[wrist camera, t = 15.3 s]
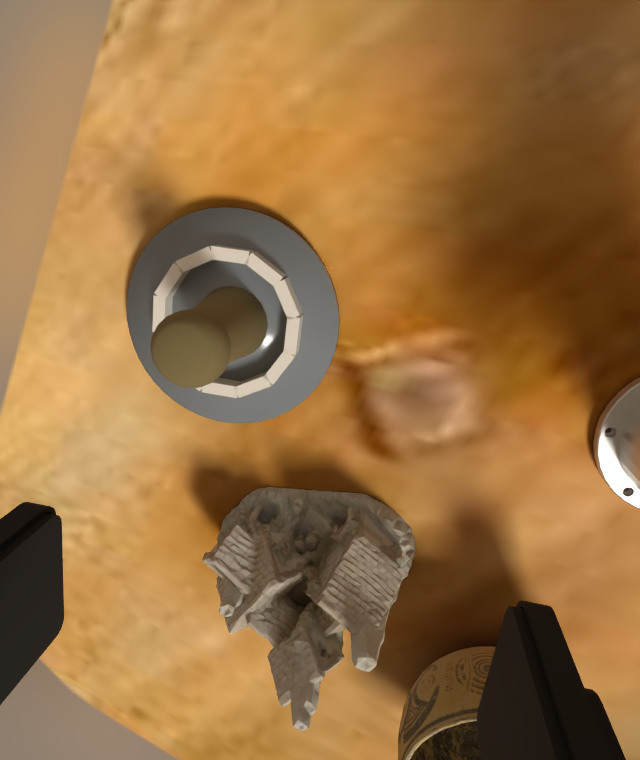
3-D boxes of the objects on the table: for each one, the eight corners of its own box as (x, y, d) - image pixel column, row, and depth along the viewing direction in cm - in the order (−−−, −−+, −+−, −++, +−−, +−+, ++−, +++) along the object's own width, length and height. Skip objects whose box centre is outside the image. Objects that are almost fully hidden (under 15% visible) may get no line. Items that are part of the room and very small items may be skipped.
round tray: (354, 223, 41) (351, 224, 39) (324, 435, 47) (320, 446, 44) (134, 193, 43) (119, 192, 41) (130, 400, 49) (116, 410, 46)
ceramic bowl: (510, 789, 56) (548, 985, 41) (360, 723, 56) (347, 896, 42) (628, 635, 48) (723, 808, 34) (455, 561, 49) (479, 702, 34)
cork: (278, 303, 43) (240, 331, 33) (253, 369, 45) (210, 415, 34) (209, 274, 43) (149, 292, 33) (188, 341, 45) (125, 378, 35)
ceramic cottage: (439, 562, 49) (439, 696, 35) (304, 635, 54) (257, 777, 40) (334, 430, 48) (291, 513, 33) (207, 518, 53) (123, 622, 39)
